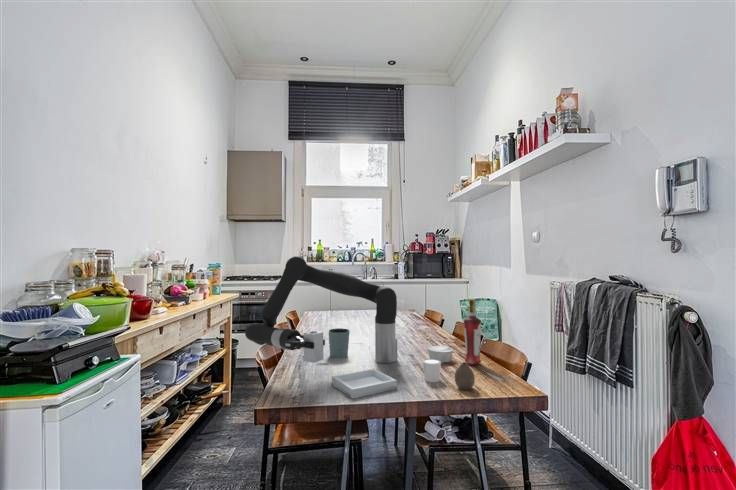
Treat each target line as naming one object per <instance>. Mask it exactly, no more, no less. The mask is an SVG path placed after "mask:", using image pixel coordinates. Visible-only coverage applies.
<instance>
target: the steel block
mask: <svg viewBox="0 0 736 490" xmlns="http://www.w3.org/2000/svg"><path fill="white" fill-rule="evenodd" d="M303 335H304V341H305V342H306V341H308V342H313V343H314V349H309V348H304V349H303V361H304V362H308V363H314V364H315V363H318V362H321V361H323V360H324V346H323V339H324V331H320V330H319V331H318V330H311V331H309V330H308V331H306V332H303Z"/></svg>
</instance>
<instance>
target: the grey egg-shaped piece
mask: <svg viewBox="0 0 736 490" xmlns="http://www.w3.org/2000/svg"><path fill="white" fill-rule="evenodd" d="M475 380H476V379H475V374H474V371H473V369H472V368H471V367H470V365H469V364H468V363H467V362H460V365H459V366H458V367H457V369H456V370H455V372H454V383H455V385H456V387H458V389H459V390H462V391H469V389H470V390H471V389H473V387H474V385H475V382H476V381H475Z"/></svg>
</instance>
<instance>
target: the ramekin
mask: <svg viewBox="0 0 736 490" xmlns="http://www.w3.org/2000/svg"><path fill="white" fill-rule="evenodd" d="M427 351H428V356H429V359H435V360H439V361H441V364H445V363H444V362H447V363H449V362H451V361H452V356H453V353H454V350H453V348H452V347H450V346H447V345H446V346H445V345H432V346H428V348H427Z"/></svg>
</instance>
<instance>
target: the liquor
mask: <svg viewBox="0 0 736 490" xmlns="http://www.w3.org/2000/svg"><path fill="white" fill-rule="evenodd" d="M468 305H469V307H468V308H469V309H468V310H469V312H468V317H466V318H464V319H463V328H464V329H463V332H464V344H465V347H464V348H465V359H464V362H465V363H468V365H469V366H478V365H479V364H481V363H482V360H481V336H482V333H481V332H482V331H481V330H482V320H481V319H480V318H478V317H477V314H476V299H474V298H473V299H472V298H471V299H470V298H469V299H468Z"/></svg>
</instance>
